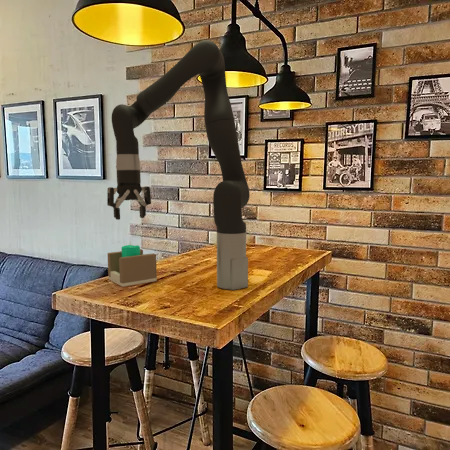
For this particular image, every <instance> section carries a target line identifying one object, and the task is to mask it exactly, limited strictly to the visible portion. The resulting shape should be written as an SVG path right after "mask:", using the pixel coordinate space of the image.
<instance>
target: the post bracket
mask: <svg viewBox="0 0 450 450" xmlns="http://www.w3.org/2000/svg"><path fill="white" fill-rule="evenodd" d="M157 270H158V269H157V254H156V253H146V254H144V250H143V249H141V248H140V255H136V256H128V257H122V250H121V251H113V252H112V251H111V252H107V272H108V273H107V275H108V280H109V281H111V282H113V283H115V284H117V285H119V286H120V287H128V286H135V285H139V284H141V285H142V284H147V283H152V282H157V281H158V280H157V279H158V278H157V275H158V274H157Z"/></svg>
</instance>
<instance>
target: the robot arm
mask: <svg viewBox="0 0 450 450" xmlns="http://www.w3.org/2000/svg"><path fill="white" fill-rule="evenodd" d="M225 65H226V64H225V58H224V55H223V53H222V50H221V49H220V47H219V46H218V45H217V44H216V43H215V42H214V41H212V40H209V39H203V40H200V41H198V42H197V43H196V44H195V45H193V47H191V48H190V49H189V50H188V52H187V53H185V55H183V57H182V58H181V59H180V60H179V61H177V63H175V64H174V65H173V66H172V67H171V68H170V69H169V70H168V71H167V72H166V73H165V74H163V75H162V76H161V77H160V78H158V79H157V80H156V81H154V82H152V84H150V85H149V86H148V87H145V88H144V89H143V90H142V91H140V92H139V93H138V94H137V96H136V100H135V101H134V102H133V103H132V104H131V105H126V104H123V103H122V104H118V105H116V106H115V107H114V108H113V110H112V112H111V124H112V125H111V126H112V129H113V130H112V131H113V134H114V138H115V141H116V143H115V146H116V147H115V148H116V149H115V150H116V159H115V160H116V161H115V163H116V165H115V168H116V185H117V186H116V187H112V186H111V187H108V188H107V199H106V201H107V202H106V203H107V204H106V205H107V206H108V207H111V208H113V209H112V210H113V217H114V218H115V220H116V221H117V220H118V221H119V220H121V208H120V206H121V205H122V203H124V201H136V203H138V205H139V218H140V219H144V218H146V216H147V213H146V211H147V210H146V209H147V206H148V205H151V204H152V200H151V199H152V197H151V187H150V186H146V185H145V186H141V181H142V180H141V178H142V177H141V161H140V153H139V152H140V150H139V149H140V148H139V146H140V145H139V140H138V138H137V137H136V136H135V132H134V131H135V128H138V127H139V126H140V125H142V124H143V123H144V122H145V121H146V120H147V119H148V118H149V117H150V116H151V115H152V113H154V112H156V111H157V110H158V109H160V108H161V107H163V106H164V105H166V104H167V103H168V102H169V101H170V100H171V99H172V98H173V97H174V96H175V95H176V94H177V92H178V91H179V90H180V89H181V88H182V87H183V86H184V85H185V84H186V83H187V82H189V81H190V80H191V79H192V78H194V77H196V76H197V75H199V77H200V80H201V84H202V88H203V92H204V108H203V109H204V111H203V114H204V115H203V118H204V126H205V127H204V128H205V131H206V137H207V141H208V144H209V147H210V149H211V150H212V152H213V154H214V156H215V158H216V160H217V162H218V164H219V168H220V170H221V176H222V181H221V182H219V183H218V184H217V185H216V186H215V187H214V192H213V197H212V200H213V201H212V202H213V204H212V206H213V219H214V224H215V226H216V286H217V288H220V289H225V290H231V291H235V290H239V289H244V288H248V287H249V258H248V256H247V224H246V222H245V221H244V220H243V216H242V209H243V208H244V207H246V206H247V204H248V203H249V201H250V198H251V197H250V196H251V195H250V188H249V184H248V181H247V177H246V174H245V171H244V167H243V164H242V163H243V162H242V157H241V151H240V146H239V145H240V144H239V140H238V139H239V138H238V134H237V133H238V132H237V127H236V123H235V122H236V120H235V118H234V112H233V108H232V104H231V101H230V100H231V99H230V96H229V92H228V88H227V78H226V66H225ZM116 192H117V194H118V196H117V197H116V199H115V194H116ZM141 193H143V197H142V195H141ZM143 198H144V199H143Z"/></svg>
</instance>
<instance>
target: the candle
mask: <svg viewBox="0 0 450 450" xmlns="http://www.w3.org/2000/svg"><path fill="white" fill-rule="evenodd" d="M129 243H130V244H127V245H126V244H125V245H122V246H121V251H122V257H128V256H136V255H140V249H141V247H140V245H138V244H137V245H133V244H132V242H131V241H130V242H129Z"/></svg>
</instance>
